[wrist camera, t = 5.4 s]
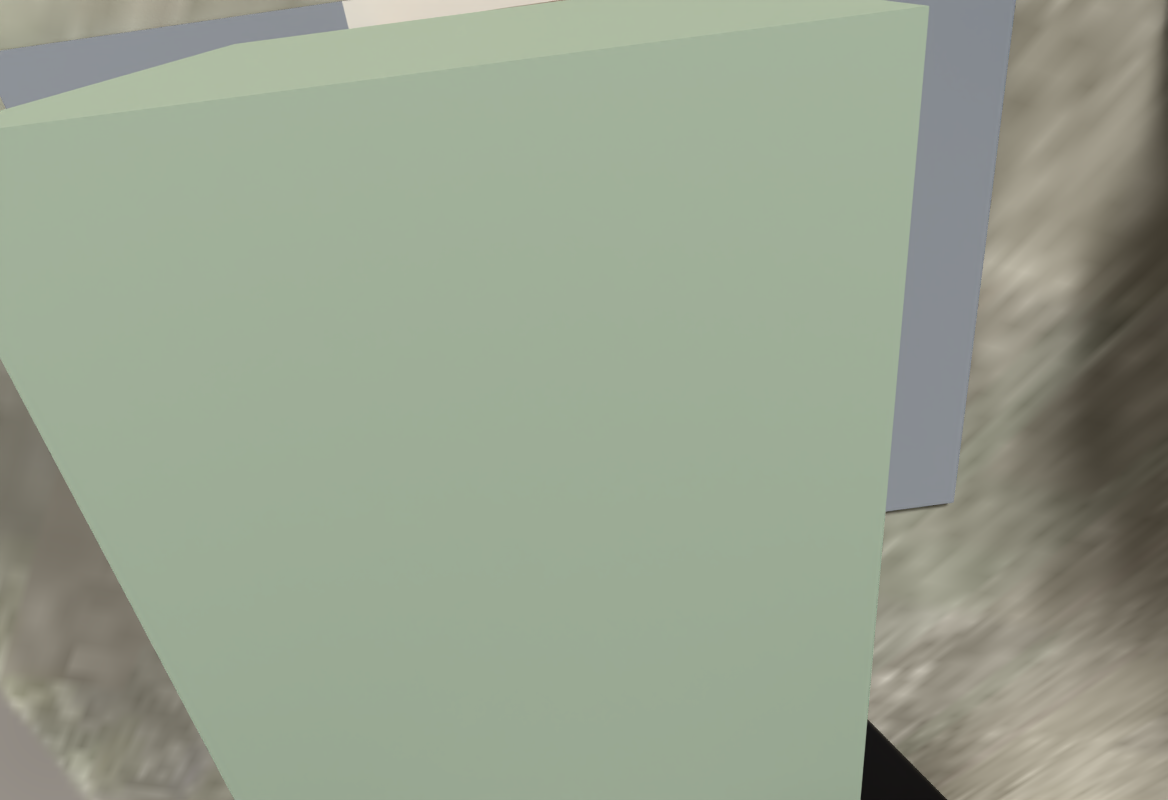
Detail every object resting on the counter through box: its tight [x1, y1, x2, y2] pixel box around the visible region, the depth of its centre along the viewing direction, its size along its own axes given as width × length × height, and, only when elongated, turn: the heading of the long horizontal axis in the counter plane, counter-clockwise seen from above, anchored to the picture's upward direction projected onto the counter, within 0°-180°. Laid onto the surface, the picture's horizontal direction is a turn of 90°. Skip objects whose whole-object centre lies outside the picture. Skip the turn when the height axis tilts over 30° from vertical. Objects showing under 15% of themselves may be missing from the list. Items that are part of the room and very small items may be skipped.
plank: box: [0, 0, 929, 800], centre depth 8 cm, size 4×14×4 cm, turn 7°
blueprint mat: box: [0, 0, 1016, 512], centre depth 19 cm, size 20×14×1 cm
